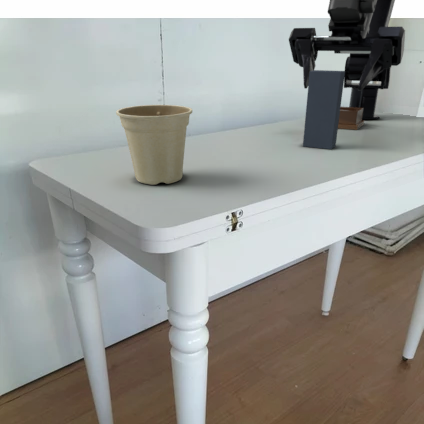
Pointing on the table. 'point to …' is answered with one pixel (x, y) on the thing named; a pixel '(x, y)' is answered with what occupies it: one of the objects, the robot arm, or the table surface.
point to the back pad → (323, 108)
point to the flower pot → (156, 141)
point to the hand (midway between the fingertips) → (331, 87)
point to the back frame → (350, 118)
